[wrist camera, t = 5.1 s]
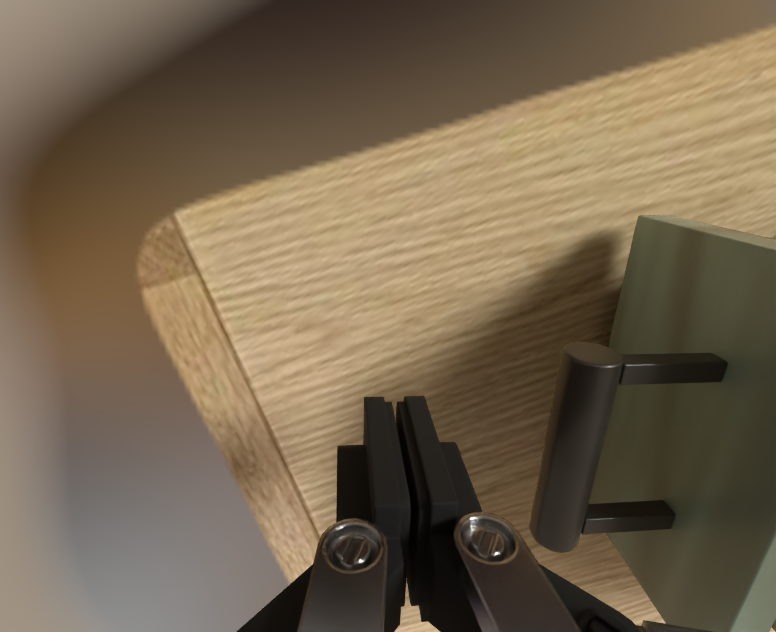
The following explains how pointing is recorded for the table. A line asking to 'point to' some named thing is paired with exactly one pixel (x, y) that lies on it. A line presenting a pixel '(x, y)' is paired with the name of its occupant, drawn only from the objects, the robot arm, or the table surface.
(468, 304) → the table surface
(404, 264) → the table surface
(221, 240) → the table surface
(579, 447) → the drawer
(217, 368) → the table surface
